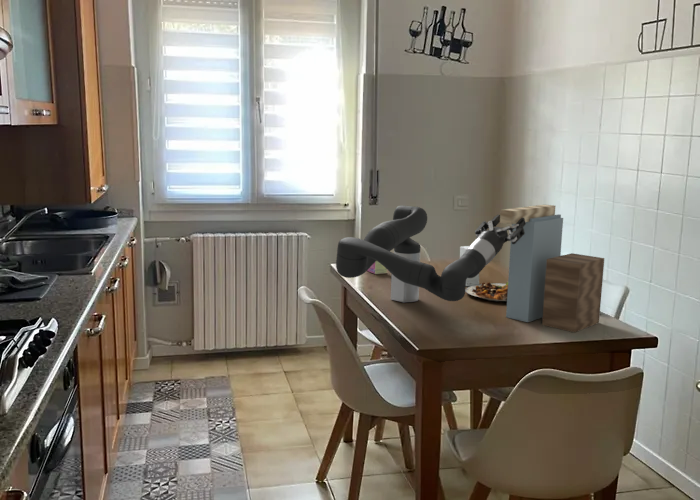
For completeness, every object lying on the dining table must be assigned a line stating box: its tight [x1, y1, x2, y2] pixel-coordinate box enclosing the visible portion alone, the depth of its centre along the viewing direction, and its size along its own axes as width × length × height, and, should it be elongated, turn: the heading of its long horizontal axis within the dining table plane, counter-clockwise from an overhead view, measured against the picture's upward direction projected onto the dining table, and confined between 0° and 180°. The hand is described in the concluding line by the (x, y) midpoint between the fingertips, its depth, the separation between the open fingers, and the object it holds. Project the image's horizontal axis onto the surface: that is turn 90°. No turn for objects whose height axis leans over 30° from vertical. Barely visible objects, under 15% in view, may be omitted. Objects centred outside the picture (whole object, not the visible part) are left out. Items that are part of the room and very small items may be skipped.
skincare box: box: [459, 245, 480, 287], centre depth 273 cm, size 8×6×15 cm
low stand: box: [541, 252, 605, 333], centre depth 219 cm, size 16×11×21 cm
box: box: [366, 261, 388, 275], centre depth 294 cm, size 10×6×12 cm, turn 25°
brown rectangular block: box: [499, 204, 556, 225], centre depth 220 cm, size 26×4×4 cm, turn 135°
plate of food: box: [465, 281, 508, 302], centre depth 256 cm, size 28×28×6 cm
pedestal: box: [505, 214, 564, 323], centre depth 228 cm, size 18×8×33 cm, turn 135°
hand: (511, 218), depth 214 cm, fingers open, 8 cm apart
